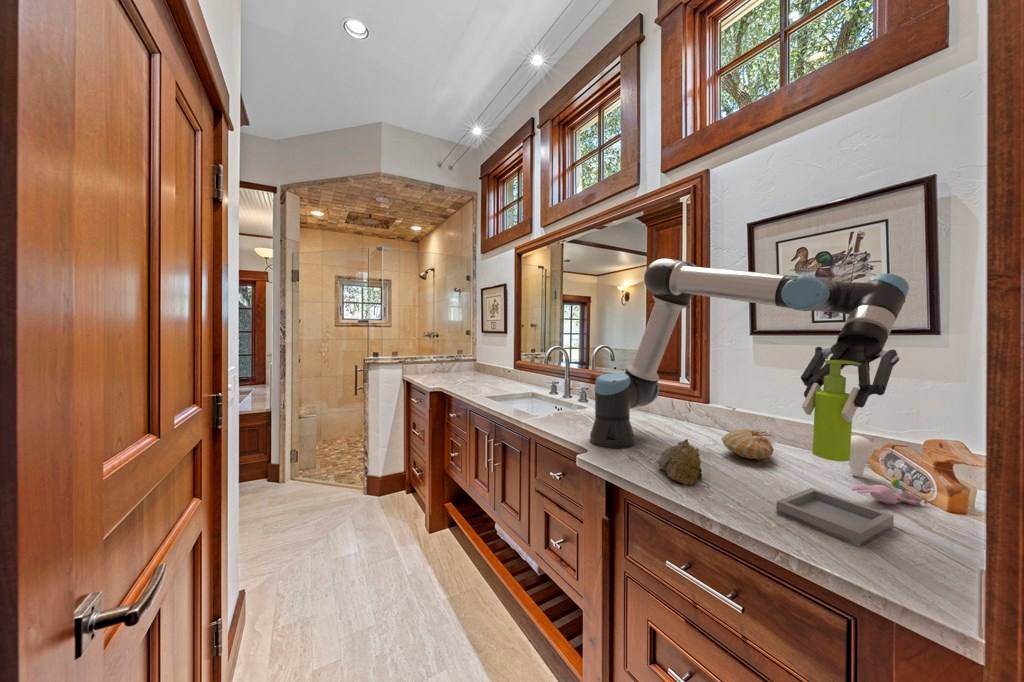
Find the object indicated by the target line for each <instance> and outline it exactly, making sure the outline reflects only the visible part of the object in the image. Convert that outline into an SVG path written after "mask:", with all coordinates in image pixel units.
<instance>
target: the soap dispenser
mask: <svg viewBox="0 0 1024 682" xmlns="http://www.w3.org/2000/svg"><path fill="white" fill-rule="evenodd" d="M824 364H830V374H828V375H827V376H824V384H823V388H822V389H823V390H822V391H816V392H815V407H814V409H813V412H814V413H813V432H812V433H813V434H812V435H813V436H812V454H813V455H814V456H816V457H817V458H818V457H819V458H821V459H823V460H828V461H832V462H833V461H835V462H849V460H850V447H851V436H852V429H853V427H852V426H853V419H852V420H851V422H846V421H845V419H844V417H843V415H842V413H841V412H842V410H843V408H844V406H845V404H846V402H847V399H848V397H849V395H850V393H847V392H846V387H847V385H846V384H847V377H845V376H844V375H842V374H841V371H842V369H841V364H854V365H861V363H858V362H853V361H847V360H830V359H825V362H824Z"/></svg>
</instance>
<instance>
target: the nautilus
mask: <svg viewBox="0 0 1024 682" xmlns="http://www.w3.org/2000/svg"><path fill="white" fill-rule="evenodd" d="M760 430H761V428H759V429H758V430H755V429H747V428H744V429H732V430H730V431H729V432H728V433H725V435H724V436H722V437H721V439H720V440H721V442H722V443H723V445H724V447H726V448H727V449H728V450H729V451H731V452H733V453H734V454H736V455H738V456H740V457H742V458H745V459H752V460H753V459H754V460H755V461H756V462H757V461H760V460H761V459H768V458H770V457H771V456H772V455H773V453H774V448H773V445H775V443H774V442H771V441H769V440H768V439H767V438H766V437H770V438H772V437H774V438H775V437H776V436H774V435H772V434H769V433H767V430H765V431H760ZM772 444H773V445H772Z"/></svg>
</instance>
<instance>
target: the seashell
mask: <svg viewBox="0 0 1024 682" xmlns="http://www.w3.org/2000/svg"><path fill="white" fill-rule="evenodd" d="M688 441H689V439H688V438H686V439H684V440H682V441H680V442H678V443H677V444H676V445H673V446H672V445H670V446H669V447H667V448H665V449H664V450H663V451H662V452H661V453H660V455H661V456H660V457H658V459H656V463H657V464H658V467H659V469H660V470H662V471H665V472H666V473H667V478H671V479H672V481H677V482H678V483H681V484H683V485H688V486H695V484H698V482H700V481H701V480H702V477H703V476H702V475H703V474H702V468H701V463H702V461H701V459H700V453H699V451H700V450H699V448H695V447H694V446H693V445H691V444H690V443H689V442H688Z"/></svg>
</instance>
